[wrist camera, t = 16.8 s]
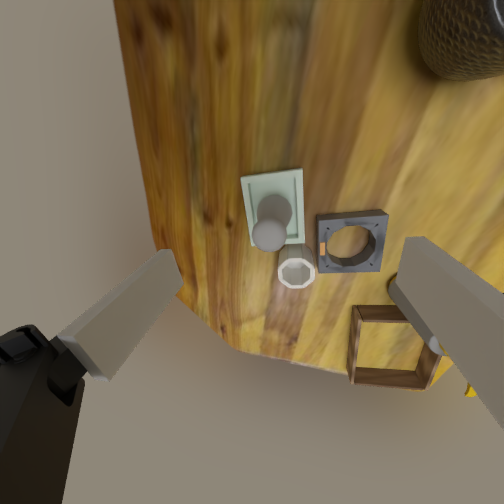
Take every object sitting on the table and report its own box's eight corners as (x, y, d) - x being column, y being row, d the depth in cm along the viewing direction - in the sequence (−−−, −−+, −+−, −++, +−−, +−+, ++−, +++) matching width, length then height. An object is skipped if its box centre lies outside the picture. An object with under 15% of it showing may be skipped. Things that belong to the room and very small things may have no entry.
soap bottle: (379, 295, 40) (437, 392, 24) (393, 266, 36) (470, 355, 21) (417, 301, 39) (502, 404, 23) (434, 271, 36) (547, 368, 20)
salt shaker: (267, 229, 37) (256, 266, 25) (253, 201, 35) (235, 227, 23) (297, 216, 35) (301, 250, 23) (284, 185, 33) (281, 206, 21)
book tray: (352, 305, 42) (358, 319, 38) (441, 305, 38) (456, 321, 35) (346, 368, 51) (350, 384, 47) (417, 372, 47) (427, 390, 44)
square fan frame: (316, 215, 35) (318, 221, 32) (380, 209, 32) (389, 215, 30) (316, 264, 39) (318, 273, 36) (373, 262, 37) (380, 272, 34)
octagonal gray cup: (278, 243, 38) (276, 259, 33) (311, 241, 37) (314, 257, 32) (281, 270, 41) (279, 288, 36) (311, 269, 40) (314, 288, 34)
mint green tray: (243, 175, 34) (240, 177, 31) (301, 167, 32) (302, 169, 29) (253, 240, 39) (251, 246, 37) (303, 237, 37) (304, 243, 35)
